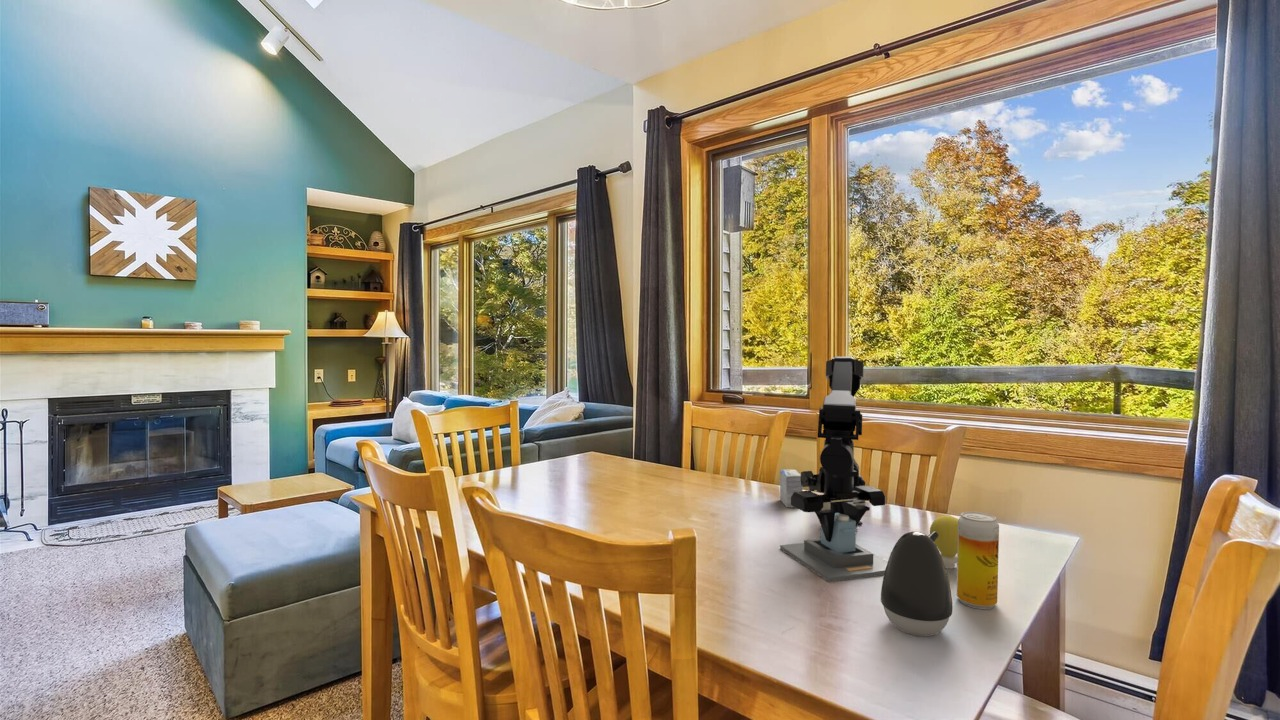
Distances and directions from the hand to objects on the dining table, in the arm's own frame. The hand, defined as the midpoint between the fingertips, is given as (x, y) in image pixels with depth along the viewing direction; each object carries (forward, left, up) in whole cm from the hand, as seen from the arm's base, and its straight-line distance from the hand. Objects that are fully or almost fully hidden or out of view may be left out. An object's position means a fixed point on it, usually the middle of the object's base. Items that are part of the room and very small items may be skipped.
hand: (837, 540), depth 122 cm
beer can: (-11, +24, -4) cm, 26 cm away
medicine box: (-12, -39, -4) cm, 41 cm away
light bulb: (-19, +9, -4) cm, 22 cm away
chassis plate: (0, 0, -4) cm, 4 cm away
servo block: (0, 0, -1) cm, 1 cm away
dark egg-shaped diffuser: (+5, +28, -4) cm, 29 cm away
